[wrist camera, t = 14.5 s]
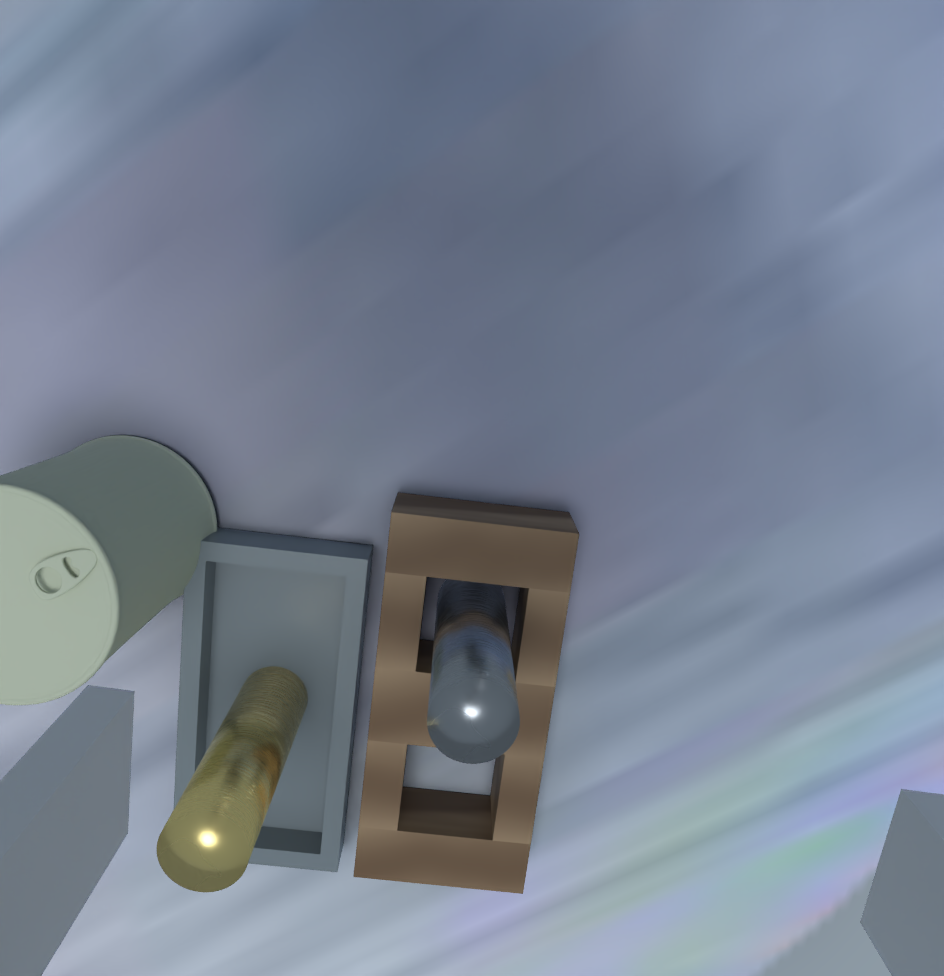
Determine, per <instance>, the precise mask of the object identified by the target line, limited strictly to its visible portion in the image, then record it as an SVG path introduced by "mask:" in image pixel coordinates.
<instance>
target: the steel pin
mask: <svg viewBox="0 0 944 976" xmlns="http://www.w3.org/2000/svg"><path fill="white" fill-rule="evenodd" d="M519 727H520V714H519V707H518V699H517V691H516V683H515V675H514V668H513V660H512V652H511V644H510V637H509V629H508V621H507V613H506V606H505V598H504V593H503V590H502V588H501V586H500V585H496V584H487V583H478V582H469V581H460V580H451V579H446V580H445V582H444V583H443V584H442V586H441V588H440V590H439V593H438V600H437V611H436V622H435V634H434V645H433V657H432V668H431V680H430V691H429V702H428V714H427V728H428V732H429V735H430V738H431V740H432V741H433V743H434V744H435V746H436V747H437V748H438V749H439V750H440V751H441V752H442V753H443V754H445V755H446V756H448V757H449V758H451V759H453V760H456V761H459V762H463V763H471V764H476V763H484V762H488V761H491V760H493V759H495V758H497V757H499V756H501V755H502V754H503V753H505V752H506V751H507V750H508V749H509V748H510V747H511V745H512V744H513V743H514V741H515V739H516V737H517V735H518V732H519Z"/></svg>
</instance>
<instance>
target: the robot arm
mask: <svg viewBox="0 0 944 976" xmlns="http://www.w3.org/2000/svg"><path fill="white" fill-rule="evenodd" d="M133 712H134V691H129V690H121V689H114V688H106V687H98V686H90V685H88V686H87V687H86V688H85V689H84V690H83V691H82V692H81V694H80V695H79V696H78V697H77V698H76V699H75V700H74V701H73V702H72V703H71V704H70V706H69V707H68V708H67V709H66V710H65V711H64V712H63V713H62V714H61V715H60V716H59V718H58V719H57V720H56V721H55V722H54V723H53V724H52V725H51V726H50V727H49V728H48V730H47V731H46V732H45V733H44V734H43V735H42V736H41V737H40V738H39V739H38V741H37V742H36V743H35V744H34V745H33V746H32V747H31V748H30V749H29V750H28V751H27V753H26V754H25V755H24V756H23V757H22V758H21V759H20V760H19V761H18V762H17V763H16V765H15V766H14V767H13V768H12V769H11V770H10V771H9V772H8V773H7V774H6V775H5V777H4V778H3V779H2V780H1V781H0V976H41V975H42V974H43V972H44V970H45V969H46V967H47V965H48V964H49V962H50V960H51V959H52V957H53V956H54V954H55V952H56V951H57V949H58V947H59V946H60V944H61V942H62V941H63V939H64V937H65V936H66V934H67V932H68V931H69V929H70V928H71V926H72V924H73V923H74V921H75V919H76V918H77V916H78V914H79V913H80V911H81V909H82V908H83V906H84V904H85V903H86V901H87V899H88V898H89V896H90V895H91V893H92V891H93V890H94V888H95V886H96V885H97V883H98V881H99V880H100V878H101V876H102V875H103V873H104V871H105V870H106V868H107V867H108V865H109V863H110V862H111V860H112V858H113V857H114V855H115V853H116V852H117V850H118V848H119V847H120V845H121V843H122V842H123V840H124V839H125V837H126V835H127V834H128V818H129V797H130V776H131V754H132V733H133ZM860 923H861V924H862V926H863V928H864V930H865V931H866V933H867V935H868V936H869V938H870V940H871V941H872V943H873V945H874V946H875V948H876V950H877V951H878V953H879V955H880V957H881V958H882V960H883V962H884V963H885V965H886V967H887V968H888V970H889V972H890V973H891V975H892V976H944V795H943V794H935V793H927V792H920V791H912V790H904V789H901V792H900V795H899V798H898V801H897V805H896V808H895V811H894V814H893V818H892V821H891V824H890V827H889V830H888V834H887V837H886V840H885V843H884V847H883V850H882V853H881V856H880V860H879V863H878V866H877V869H876V873H875V876H874V879H873V882H872V886H871V889H870V892H869V895H868V898H867V902H866V906H865V908H864V911H863V915H862V918H861V921H860Z"/></svg>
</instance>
